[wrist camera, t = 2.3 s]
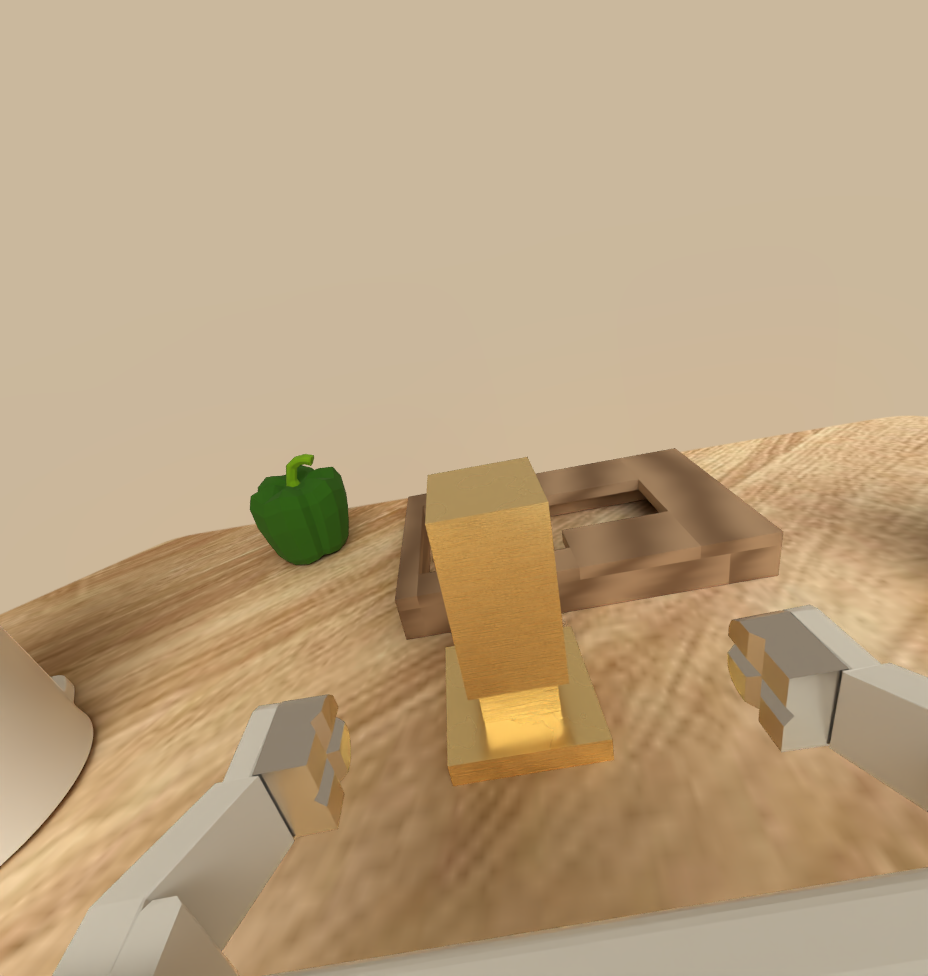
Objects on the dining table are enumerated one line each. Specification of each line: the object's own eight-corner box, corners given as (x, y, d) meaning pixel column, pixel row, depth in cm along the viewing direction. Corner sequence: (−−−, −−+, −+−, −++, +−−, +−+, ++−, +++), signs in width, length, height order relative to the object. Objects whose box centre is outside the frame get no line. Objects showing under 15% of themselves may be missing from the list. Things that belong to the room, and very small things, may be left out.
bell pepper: (255, 570, 47) (215, 476, 42) (313, 526, 53) (283, 441, 49) (321, 581, 43) (283, 479, 39) (374, 532, 49) (347, 441, 45)
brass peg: (453, 785, 24) (384, 550, 18) (449, 664, 31) (400, 469, 25) (613, 759, 24) (597, 512, 18) (572, 643, 31) (551, 441, 25)
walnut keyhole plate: (406, 639, 34) (394, 599, 32) (416, 527, 48) (408, 496, 47) (778, 575, 33) (783, 531, 32) (674, 481, 48) (674, 448, 46)
